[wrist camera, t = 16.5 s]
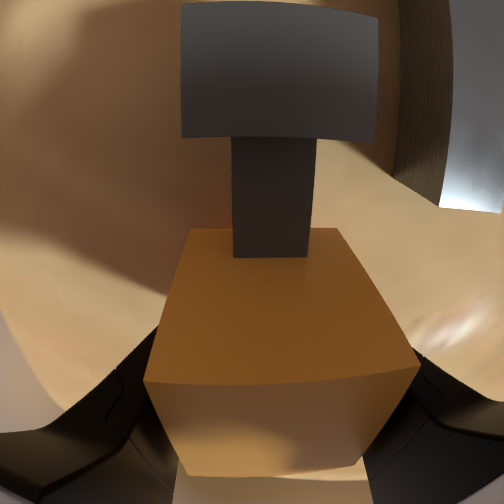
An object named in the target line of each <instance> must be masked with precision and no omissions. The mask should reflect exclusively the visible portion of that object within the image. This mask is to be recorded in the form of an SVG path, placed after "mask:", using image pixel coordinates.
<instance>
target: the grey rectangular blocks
mask: <svg viewBox="0 0 504 504" xmlns="http://www.w3.org/2000/svg"><path fill="white" fill-rule="evenodd" d="M399 9H400V26H401V95H400V114H399V127H398V139H397V149H396V158H395V166H394V174H393V179H395V180H397V181H399V182H400V183H402V184H404V185H405V186H407V187H408V188H410V189H412V190H413V191H415V192H417V193H418V194H420V195H421V196H423V197H424V198H426V199H427V200H429V201H431V202H432V203H434V204H435V205H437V206H438V207H445V208H457V209H467V210H477V211H486V212H495V213H501V209H502V205H503V201H504V0H399Z"/></svg>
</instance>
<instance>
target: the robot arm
mask: <svg viewBox="0 0 504 504" xmlns="http://www.w3.org/2000/svg"><path fill="white" fill-rule="evenodd" d="M158 326H159V325H158ZM158 326H157V327H156V328H155V329H154V330H153V331H152V332H151V333H150V334H149V335H148V336H147V337H146V338H145V339H144V340H143V341H142V342H141V343H140V344H139V345H138V346H137V347H136V348H135V349H134V350H133V351H132V352H131V353H130V354H129V355H128V356H127V357H126V358H125V359H124V360H123V361H122V362H121V363H120V364H119V365H118V366H117V367H116V369H114V370H113V371H112V372H111V373H110V374H109V375H108V376H107V377H106V378H105V379H103V380H102V381H101V382H100V383H99V384H98V385H97V386H96V387H95V388H94V389H93V390H91V391H90V392H89V393H88V394H87V395H86V396H84V397H83V398H82V399H81V400H80V401H78V402H77V403H76V404H75V405H73V406H72V407H71V408H70V409H68V410H67V411H66V412H65V413H63V414H62V415H61V416H60V417H58V418H57V419H56V420H54V421H53V422H52V423H50V424H49V425H47V426H45V427H42V428H39V429H35V430H28V431H19V432H9V433H0V504H172V501H173V493H174V487H175V480H176V474H177V468H178V461H179V457H178V455H177V453H176V451H175V450H174V448H173V446H172V444H171V442H170V440H169V438H168V436H167V434H166V432H165V430H164V427H163V425H162V423H161V421H160V419H159V417H158V415H157V412H156V410H155V408H154V406H153V403H152V401H151V399H150V397H149V394H148V392H147V389H146V387H145V385H144V382H143V379H144V375H145V372H146V368H147V364H148V361H149V357H150V353H151V350H152V346H153V343H154V339H155V336H156V333H157V329H158ZM412 349H413V351H414V353H415V354H416V356H417V358H418V360H419V362H420V364H421V366H420V368H419V370H418V372H417V374H416V375H415V377H414V379H413V381H412V382H411V384H410V386H409V387H408V389H407V391H406V392H405V394H404V396H403V397H402V399H401V401H400V402H399V404H398V405H397V407H396V408H395V410H394V411H393V413H392V414H391V416H390V417H389V419H388V420H387V422H386V423H385V425H384V426H383V428H382V429H381V431H380V432H379V433H378V435H377V436H376V437H375V439H374V440H373V442H372V443H371V444H370V446H369V447H368V448H367V449H366V451H365V452H364V453H363V455H362V457H363V461H364V465H365V469H366V473H367V477H368V481H369V486H370V490H371V494H372V498H373V503H374V504H504V402H500V401H495V400H491V399H489V398H487V397H485V396H483V395H481V394H480V393H478V392H477V391H475V390H473V389H472V388H470V387H469V386H467V385H465V384H464V383H462V382H460V381H459V380H457V379H456V378H454V377H453V376H451V375H450V374H448V373H447V372H445V371H443V370H442V369H441V368H439V367H438V366H437V365H435V364H434V363H432V362H431V361H430V360H428V359H427V358H426V357H423V355H422V354H420V353H419V352H418V351H416V350H415V349H414V348H412Z"/></svg>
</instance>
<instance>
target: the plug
mask: <svg viewBox="0 0 504 504" xmlns="http://www.w3.org/2000/svg"><path fill="white" fill-rule="evenodd" d="M378 69H379V41H378V18H376V17H372V16H368V15H364V14H359V13H354V12H349V11H344V10H339V9H333V8H327V7H320V6H313V5H304V4H295V3H283V2H265V1H220V2H202V3H191V4H182V27H181V116H182V138H199V137H231V159H232V226H233V228H205V229H190V232H189V234H188V237H187V240H186V243H185V246H184V248H183V251H182V254H181V257H180V260H179V263H178V266H177V269H176V272H175V275H174V278H173V281H172V284H171V287H170V290H169V293H168V297H167V300H166V303H165V306H164V309H163V313H162V316H161V319H160V322H159V326H158V329H157V333H156V336H155V339H154V343H153V346H152V350H151V353H150V357H149V361H148V364H147V368H146V372H145V375H144V379H143V382H144V385H145V387H146V389H147V392H148V394H149V397H150V399H151V401H152V403H153V406H154V408H155V410H156V412H157V415H158V417H159V419H160V421H161V423H162V425H163V427H164V430H165V432H166V434H167V436H168V438H169V440H170V442H171V444H172V446H173V448H174V450H175V451H176V453H177V455H178V457H179V459H180V461H181V462H182V464H183V466H184V468H185V470H186V472H187V473H188V475H192V476H210V477H260V476H278V475H290V474H300V473H309V472H316V471H323V470H330V469H336V468H342V467H347V466H352V465H355V463H356V462H357V461H358V460H359V458H360V457H361V456H362V455H363V453H364V452H365V451H366V449H367V448H368V447H369V446H370V444H371V443H372V442H373V440H374V439H375V437H376V436H377V435H378V433H379V432H380V431H381V429H382V428H383V426H384V425H385V423H386V422H387V420H388V419H389V417H390V416H391V414H392V413H393V411H394V410H395V408H396V407H397V405H398V404H399V402H400V401H401V399H402V397H403V396H404V394H405V392H406V391H407V389H408V387H409V386H410V384H411V382H412V381H413V379H414V377H415V375H416V374H417V372H418V370H419V368H420V366H421V364H420V362H419V360H418V358H417V356H416V354H415V353H414V351H413V349H412V347H411V345H410V344H409V342H408V340H407V338H406V337H405V335H404V333H403V331H402V330H401V328H400V326H399V324H398V323H397V321H396V319H395V318H394V316H393V314H392V313H391V311H390V309H389V308H388V306H387V304H386V303H385V301H384V299H383V298H382V296H381V295H380V293H379V291H378V290H377V288H376V287H375V285H374V283H373V282H372V280H371V279H370V277H369V276H368V274H367V272H366V271H365V269H364V268H363V266H362V265H361V263H360V262H359V260H358V259H357V257H356V256H355V254H354V253H353V251H352V250H351V248H350V247H349V245H348V244H347V242H346V241H345V239H344V238H343V236H342V235H341V233H340V232H339V231H338V229H337V228H310V225H311V214H312V202H313V190H314V176H315V161H316V145H317V139H330V140H342V141H353V142H362V143H371V144H374V143H375V131H376V118H377V100H378Z"/></svg>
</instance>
